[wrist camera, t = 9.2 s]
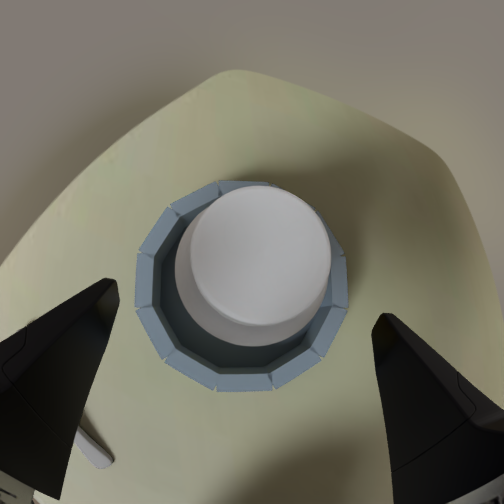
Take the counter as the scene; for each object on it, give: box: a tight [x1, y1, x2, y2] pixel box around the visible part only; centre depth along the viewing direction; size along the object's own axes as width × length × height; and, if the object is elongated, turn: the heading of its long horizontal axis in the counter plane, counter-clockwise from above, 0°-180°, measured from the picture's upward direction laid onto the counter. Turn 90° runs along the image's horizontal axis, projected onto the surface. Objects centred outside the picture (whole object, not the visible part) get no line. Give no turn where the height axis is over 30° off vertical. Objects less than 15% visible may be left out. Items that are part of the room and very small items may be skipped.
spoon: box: [17, 329, 113, 469], centre depth 15 cm, size 3×12×2 cm, turn 34°
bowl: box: [135, 181, 348, 392], centre depth 17 cm, size 12×12×3 cm
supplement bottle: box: [175, 186, 331, 346], centre depth 13 cm, size 6×6×10 cm
